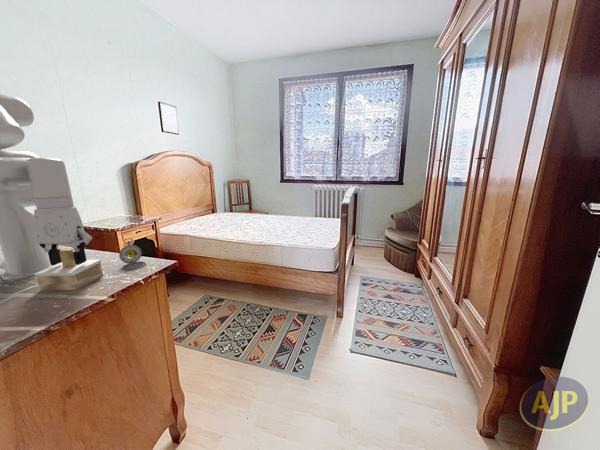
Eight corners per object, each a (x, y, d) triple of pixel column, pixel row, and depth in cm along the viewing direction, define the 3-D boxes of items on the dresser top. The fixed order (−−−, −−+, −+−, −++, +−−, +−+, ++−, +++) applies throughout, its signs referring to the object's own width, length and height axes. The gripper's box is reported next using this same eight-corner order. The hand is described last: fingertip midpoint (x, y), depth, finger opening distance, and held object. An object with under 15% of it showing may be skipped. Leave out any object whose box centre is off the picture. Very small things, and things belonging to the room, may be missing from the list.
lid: (34, 276, 68) (29, 256, 67) (68, 262, 78) (64, 244, 77) (72, 275, 68) (68, 256, 67) (101, 261, 79) (97, 244, 77)
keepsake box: (40, 292, 70) (36, 276, 69) (72, 277, 79) (68, 262, 78) (76, 291, 70) (72, 275, 69) (103, 276, 80) (100, 262, 78)
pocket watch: (135, 272, 83) (130, 243, 80) (114, 270, 84) (108, 242, 82) (153, 263, 90) (149, 237, 88) (134, 261, 92) (129, 236, 90)
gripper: (8, 205, 65) (26, 268, 69) (74, 205, 66) (88, 267, 70) (37, 202, 73) (51, 259, 77) (96, 201, 73) (108, 258, 77)
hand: (69, 262), depth 73 cm, fingers open, 6 cm apart
